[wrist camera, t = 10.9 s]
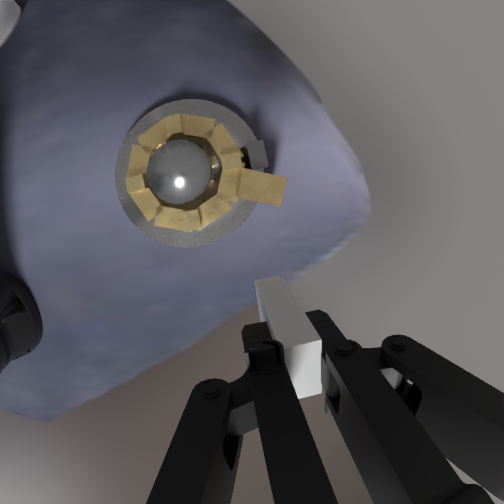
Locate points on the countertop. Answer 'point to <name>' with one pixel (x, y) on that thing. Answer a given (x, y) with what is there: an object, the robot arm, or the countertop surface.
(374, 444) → the robot arm
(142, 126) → the flange
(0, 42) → the vase
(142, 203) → the gold crown ring
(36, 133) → the countertop surface
